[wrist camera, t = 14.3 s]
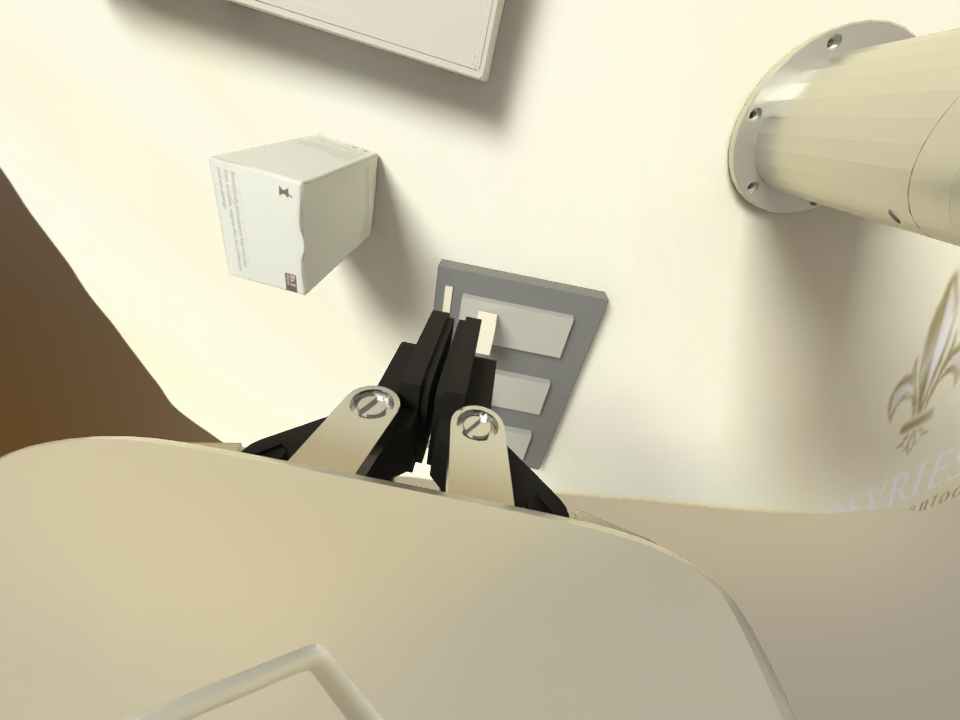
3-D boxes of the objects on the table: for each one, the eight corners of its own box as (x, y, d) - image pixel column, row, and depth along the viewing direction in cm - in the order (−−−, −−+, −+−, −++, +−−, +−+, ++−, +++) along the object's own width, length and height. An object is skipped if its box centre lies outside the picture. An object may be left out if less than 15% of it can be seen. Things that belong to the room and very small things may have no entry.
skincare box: (320, 133, 33) (199, 143, 21) (383, 154, 33) (301, 176, 21) (318, 223, 38) (220, 274, 26) (374, 240, 38) (303, 299, 26)
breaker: (497, 314, 38) (494, 330, 35) (492, 338, 40) (489, 355, 37) (478, 310, 38) (475, 326, 35) (474, 334, 40) (470, 351, 37)
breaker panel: (605, 292, 39) (610, 304, 36) (538, 458, 55) (538, 475, 52) (442, 259, 39) (436, 269, 36) (422, 435, 55) (418, 451, 52)
